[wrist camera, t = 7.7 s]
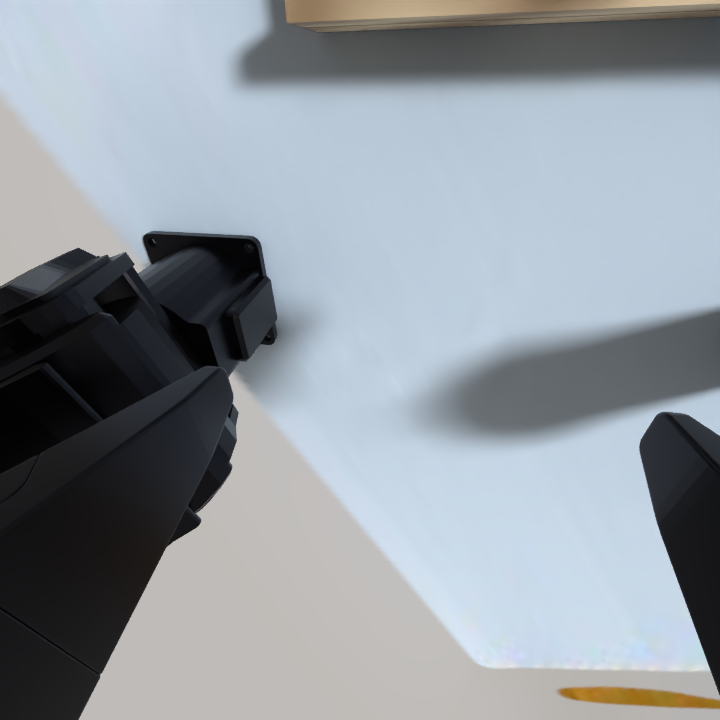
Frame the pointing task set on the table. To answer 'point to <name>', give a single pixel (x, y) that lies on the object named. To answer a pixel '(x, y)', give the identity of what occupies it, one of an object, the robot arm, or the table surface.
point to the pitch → (480, 12)
